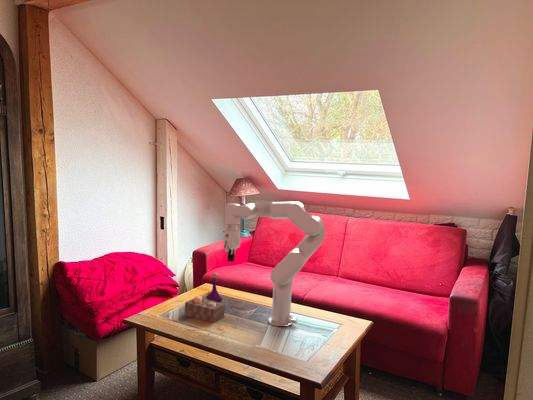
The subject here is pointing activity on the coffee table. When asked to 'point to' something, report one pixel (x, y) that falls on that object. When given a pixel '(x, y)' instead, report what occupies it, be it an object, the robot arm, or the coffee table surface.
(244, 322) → the coffee table surface
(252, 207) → the robot arm
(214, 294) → the perfume bottle
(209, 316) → the walnut block
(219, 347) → the coffee table surface
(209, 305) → the beech plug
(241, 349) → the coffee table surface
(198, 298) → the terracotta plug
